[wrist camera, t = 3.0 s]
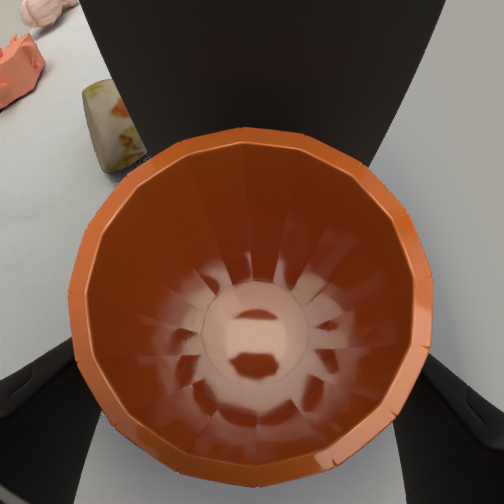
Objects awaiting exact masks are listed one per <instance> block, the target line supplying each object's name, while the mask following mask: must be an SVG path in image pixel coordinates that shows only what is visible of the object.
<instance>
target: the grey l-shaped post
mask: <svg viewBox="0 0 504 504" xmlns="http://www.w3.org/2000/svg"><path fill="white" fill-rule="evenodd" d="M445 1H446V0H79V2H80V4H81V7H82V9H83V12H84V14H85V17H86V19H87V22H88V24H89V27H90V29H91V31H92V34H93V36H94V38H95V41H96V43H97V45H98V48H99V50H100V52H101V55H102V57H103V59H104V62H105V64H106V66H107V68H108V70H109V73H110V75H111V77H112V79H113V82H114V84H115V86H116V88H117V90H118V92H119V95H120V97H121V99H122V101H123V103H124V105H125V107H126V109H127V112H128V114H129V116H130V118H131V120H132V122H133V124H134V126H135V128H136V130H137V132H138V134H139V136H140V138H141V140H142V142H143V144H144V146H145V148H146V150H147V152H148V154H149V156H150V158H152V157H154V156H156V155H157V154H159V153H160V152H162V151H164V150H165V149H167V148H168V147H170V146H172V145H173V144H175V143H177V142H181V141H182V140H185V139H189V138H193V137H197V136H202V135H206V134H210V133H215V132H219V131H224V130H229V129H233V128H238V127H241V128H242V127H252V128H262V129H271V130H279V131H287V132H294V133H301V134H305V136H306V135H308V136H310V137H312V138H314V139H317V140H319V141H321V142H323V143H325V144H327V145H329V146H331V147H333V148H335V149H337V150H339V151H341V152H343V153H345V154H347V155H349V156H351V157H352V158H354V159H356V160H358V161H360V162H361V163H362V165H365V166H366V167H367V168H368V167H369V165H370V163H371V161H372V160H373V158H374V156H375V154H376V152H377V150H378V148H379V146H380V145H381V143H382V141H383V138H384V137H385V135H386V133H387V131H388V129H389V127H390V125H391V123H392V121H393V119H394V117H395V115H396V113H397V111H398V109H399V107H400V105H401V103H402V100H403V98H404V96H405V94H406V92H407V90H408V88H409V85H410V84H411V81H412V79H413V77H414V75H415V73H416V71H417V68H418V66H419V64H420V62H421V59H422V57H423V55H424V53H425V50H426V48H427V46H428V43H429V41H430V38H431V36H432V33H433V31H434V29H435V26H436V24H437V21H438V19H439V16H440V14H441V11H442V9H443V6H444V4H445Z"/></svg>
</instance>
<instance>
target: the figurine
mask: <svg viewBox="0 0 504 504" xmlns="http://www.w3.org/2000/svg"><path fill="white" fill-rule="evenodd" d="M76 3H77V0H24V1H23V2H22V4H21V8H20V11H18V12H20V14H21V18H22V21H23V23H24V24H25V25H27V26H30V27H31V28H37V27H44V26H47V25H48V24H49V25H51V26H53V25H54V24H55V23H54V22H55V21H56V19H57V18H58V17H59V16H60V15H61V13H62V9H64V8H67V7H74V6H75V5H76Z"/></svg>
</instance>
